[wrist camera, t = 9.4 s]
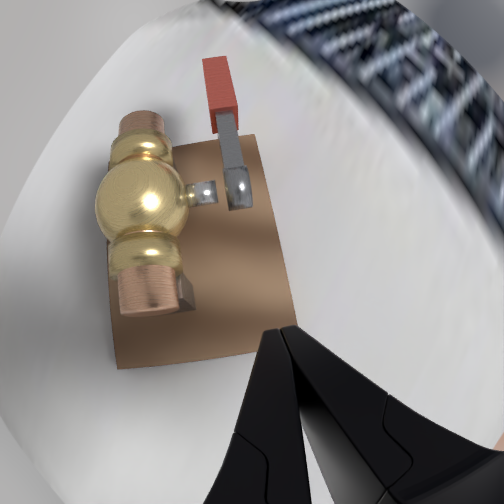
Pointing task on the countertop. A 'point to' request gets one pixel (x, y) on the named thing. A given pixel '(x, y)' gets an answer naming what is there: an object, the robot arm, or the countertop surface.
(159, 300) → the valve body
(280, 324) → the mounting board
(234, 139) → the valve lever
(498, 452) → the robot arm
